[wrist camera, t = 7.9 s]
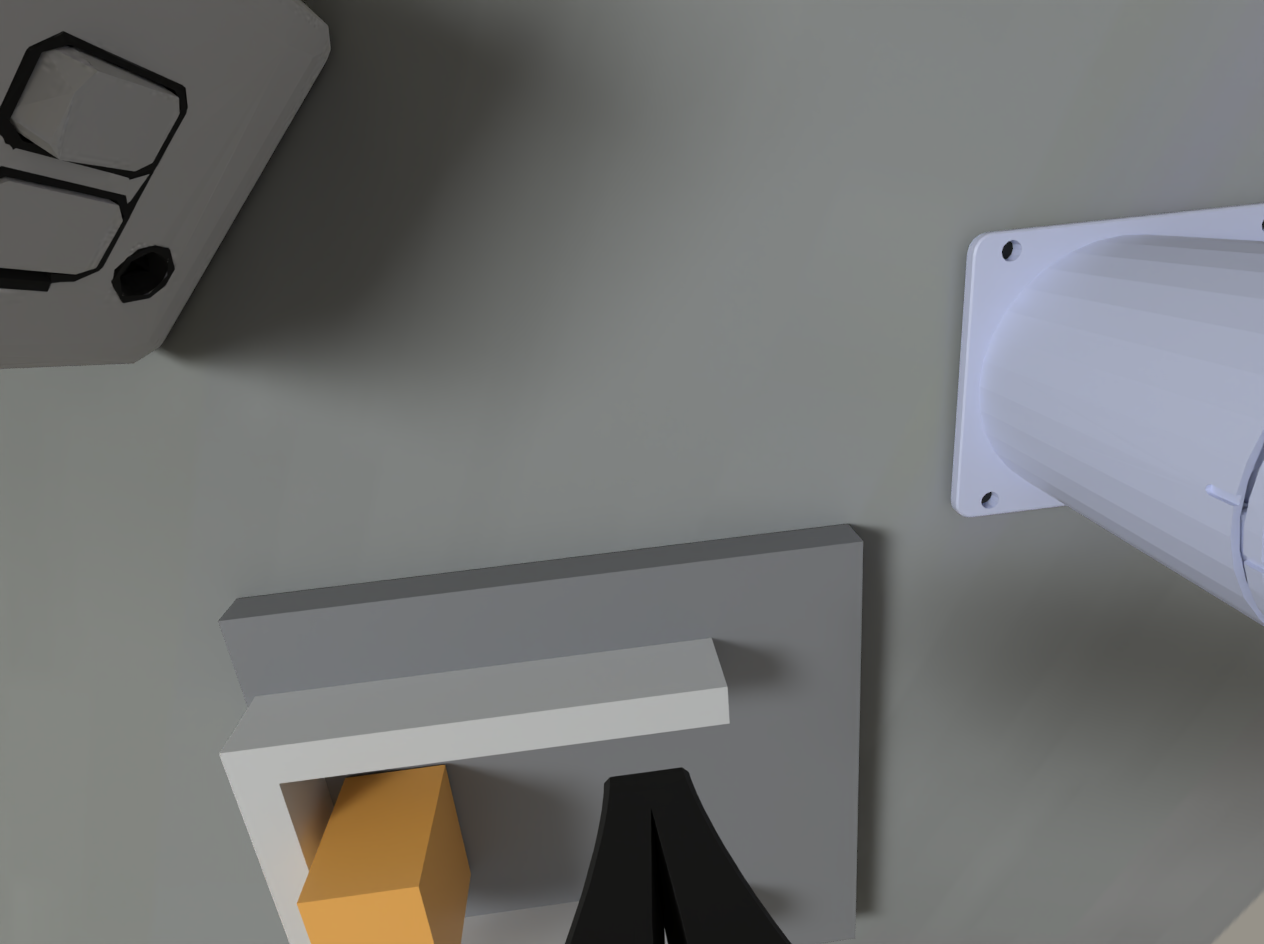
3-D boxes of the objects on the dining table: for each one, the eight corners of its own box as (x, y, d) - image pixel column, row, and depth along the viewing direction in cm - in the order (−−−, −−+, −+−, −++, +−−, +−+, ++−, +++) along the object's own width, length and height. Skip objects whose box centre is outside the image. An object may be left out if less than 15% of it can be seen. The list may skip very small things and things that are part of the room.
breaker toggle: (445, 764, 22) (418, 886, 18) (470, 874, 24) (451, 1007, 20) (345, 777, 22) (296, 903, 18) (377, 887, 24) (339, 1023, 20)
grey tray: (847, 523, 22) (897, 581, 19) (843, 908, 27) (880, 1003, 24) (236, 598, 21) (175, 671, 18) (361, 978, 27) (333, 1086, 23)
